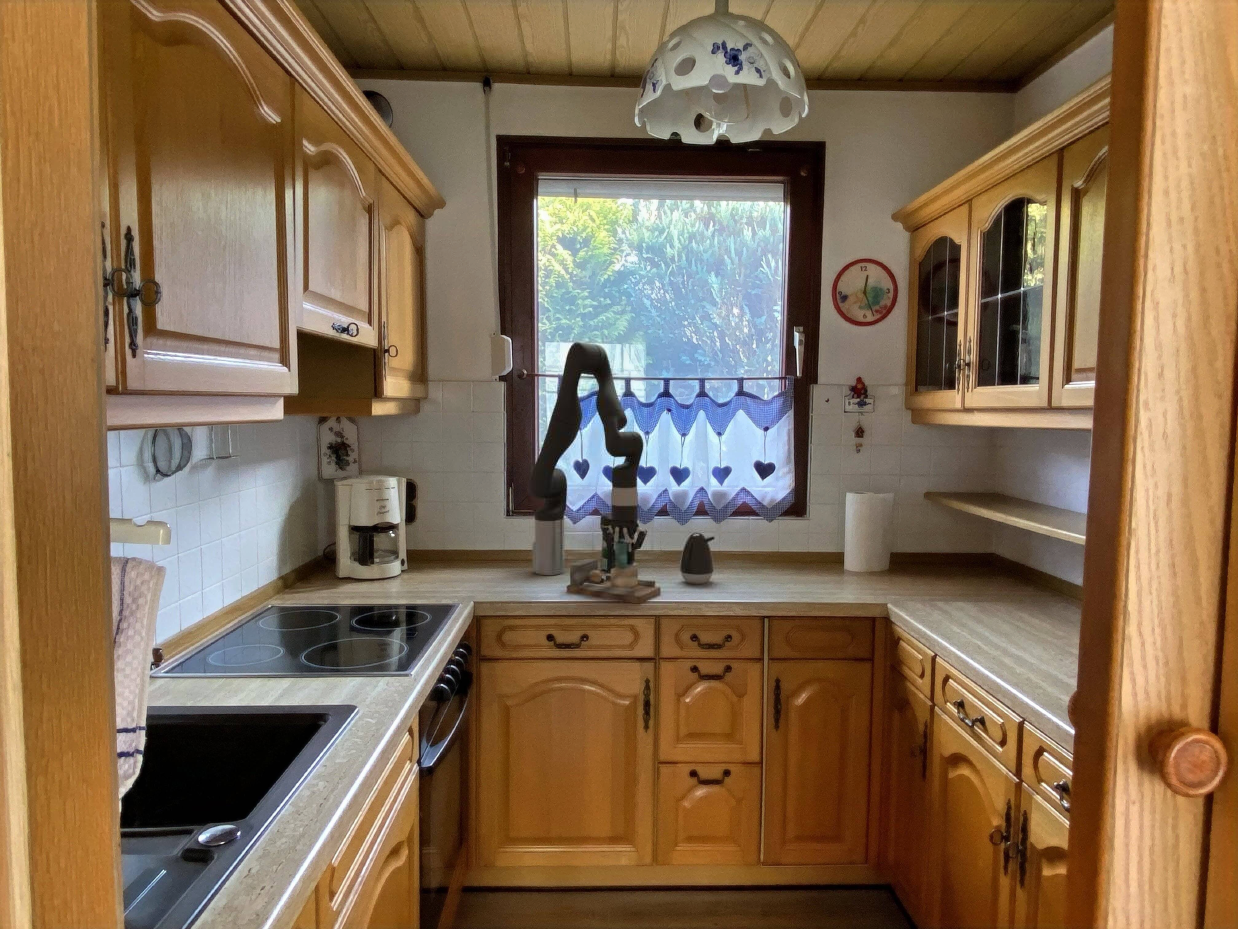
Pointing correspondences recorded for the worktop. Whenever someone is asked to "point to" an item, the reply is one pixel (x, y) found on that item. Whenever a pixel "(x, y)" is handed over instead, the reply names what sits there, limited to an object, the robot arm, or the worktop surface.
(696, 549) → the pump dispenser
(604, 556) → the coffee jar
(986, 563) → the worktop surface
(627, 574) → the sliding jaw
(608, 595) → the base
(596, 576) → the walnut
